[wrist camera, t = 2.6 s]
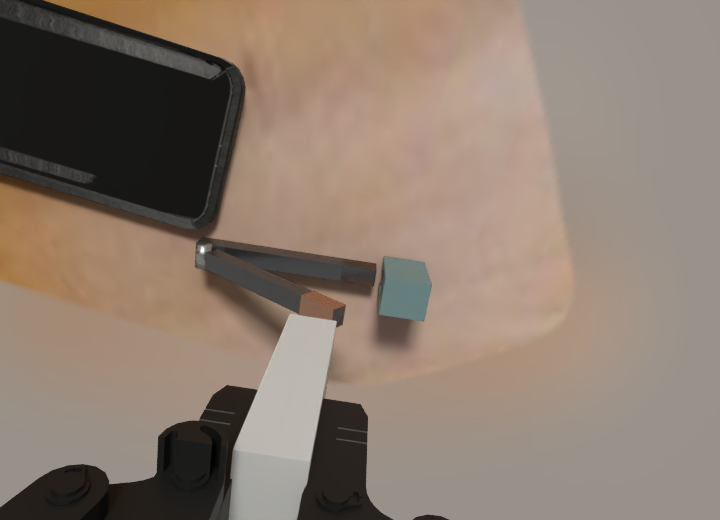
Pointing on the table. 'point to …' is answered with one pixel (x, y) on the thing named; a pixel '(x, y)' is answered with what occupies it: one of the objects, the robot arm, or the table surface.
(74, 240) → the table surface
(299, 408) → the robot arm
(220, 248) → the arm
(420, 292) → the teal matte cube
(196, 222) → the phone
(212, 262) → the bar
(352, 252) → the table surface
